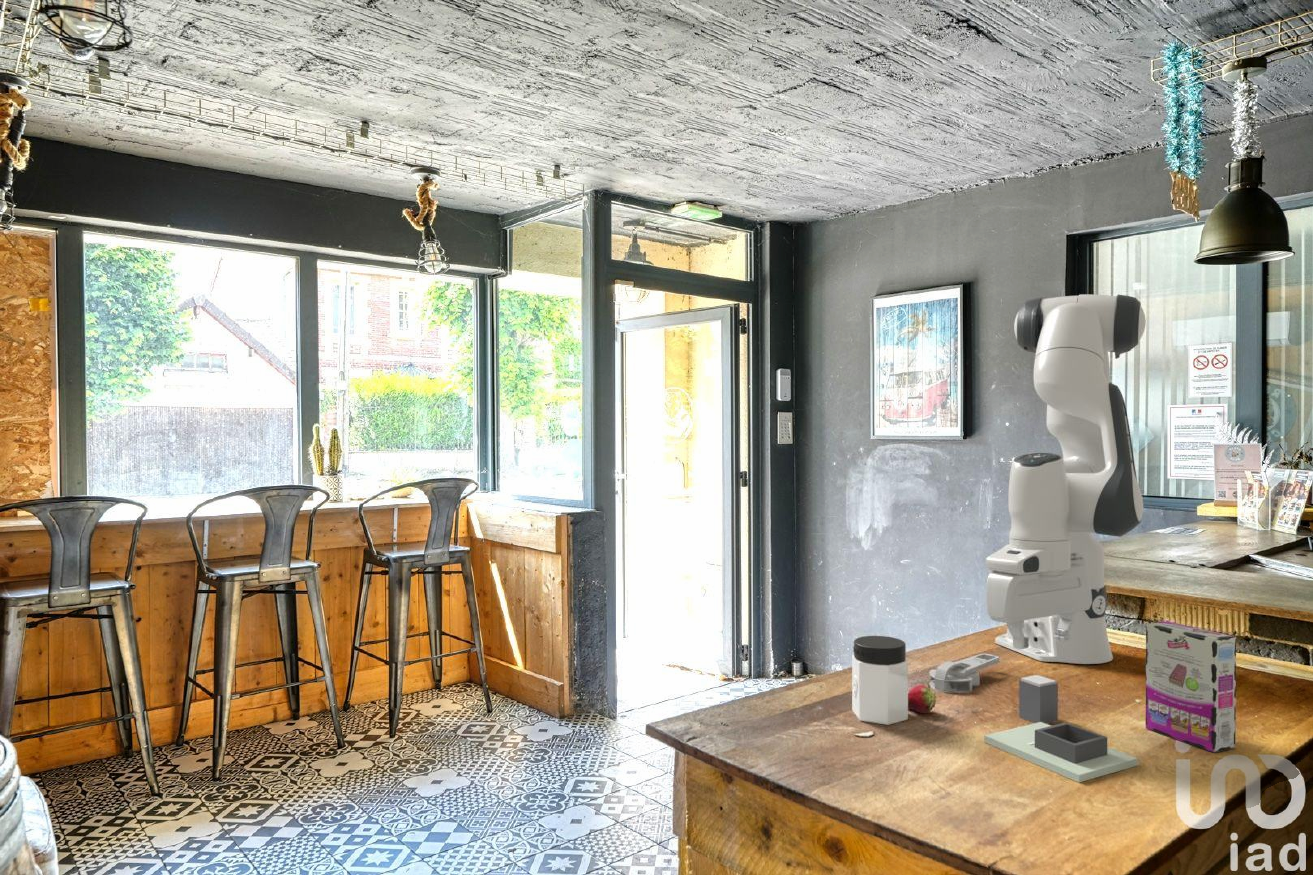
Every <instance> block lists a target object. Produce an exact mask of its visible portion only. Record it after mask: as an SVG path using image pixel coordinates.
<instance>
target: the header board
mask: <svg viewBox="0 0 1313 875" xmlns="http://www.w3.org/2000/svg"><path fill="white" fill-rule="evenodd" d="M983 737H984V738H983V742H984V743H985V744H988V745H990V746H993V747H995V748H998V749H1000V750H1002V751H1004V752H1006V753H1009V754H1011V755H1014V756H1016V757H1019V758H1021V759H1023V760H1025V761H1028V762H1030V763H1032V764H1035V765H1037V766H1040V767H1041V768H1044V769H1047V770H1049V771H1051V772H1053V773H1055V774H1057V775H1060V776H1061V777H1062V776H1063V777H1065V778H1068V779H1070V780H1072V781H1074V782H1076V783H1082V782H1085V781H1088V780H1093V779H1096V778H1098V777H1103V776H1107V775H1110V774H1112V773H1116V772H1120V771H1123V770H1124V771H1125V770H1128V769H1130V768H1134V767H1137V766H1139V758H1138V757H1136V756H1133V755H1130V754H1129V753H1127V752H1123V751H1120V750H1118V749H1115V748H1112V747H1110V746H1108V736H1106V735H1102V734H1099V733H1097V732H1094V731H1091V730H1090V729H1085V728H1083V727H1081V726H1077V725H1074V724H1072V723H1069V722H1062V723H1058V724H1054V725H1050V724H1049V723H1048V724H1045V723H1043V722H1038V723H1031V724H1027V725H1022V726H1017V727H1013V728H1009V729H1005V730H1002V731H997V732H993V733H988V734H985V735H983Z"/></svg>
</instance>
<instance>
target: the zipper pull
mask: <svg viewBox="0 0 1313 875" xmlns="http://www.w3.org/2000/svg"><path fill="white" fill-rule="evenodd" d="M998 663H1000V656H997V655H994V654H990V653H985V652H984V653H983V652H982V653H980V654H977V655H973V656H970V657H967V658H963V659H960V660H957V661H955V662H954V661H949V660H948V661H944V662H943V663H940V664H939V665H938V666H936V669H934V668H933V669H930V670H929V672H928V674H929V676H930V682H929V683H928V686H929V685H930V689H932V690H933V691H934V690H935V691H937V692H941V693H946V694H947V693H948V694H951V693H952V694H962V693H966V694H967V693H971V692H973V687H978V686H980V673H979V671H981V670H984V669H986V668H989V667H991V666H993V665H995V664H998Z"/></svg>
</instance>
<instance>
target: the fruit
mask: <svg viewBox="0 0 1313 875" xmlns="http://www.w3.org/2000/svg"><path fill="white" fill-rule="evenodd" d="M936 702H937V696H936V692H935V691H934V690H931V687H930V685H929V684H928V686H926V685H925V684H918V685H915V686H914V687H913V688H911V689H909V690H908V709H910V710H912V711H915V712H917V713H921V714H926V713H927V714H928V713H929V712H931V711H932V710H933V708H935V707H936Z"/></svg>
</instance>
